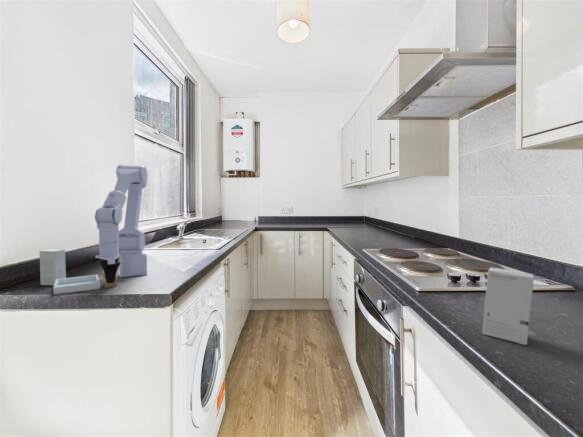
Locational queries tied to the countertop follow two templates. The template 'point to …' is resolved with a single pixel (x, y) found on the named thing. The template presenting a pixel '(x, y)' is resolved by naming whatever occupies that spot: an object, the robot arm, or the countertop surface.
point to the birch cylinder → (108, 285)
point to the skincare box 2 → (508, 304)
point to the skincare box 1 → (52, 266)
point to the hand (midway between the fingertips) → (110, 281)
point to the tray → (76, 284)
